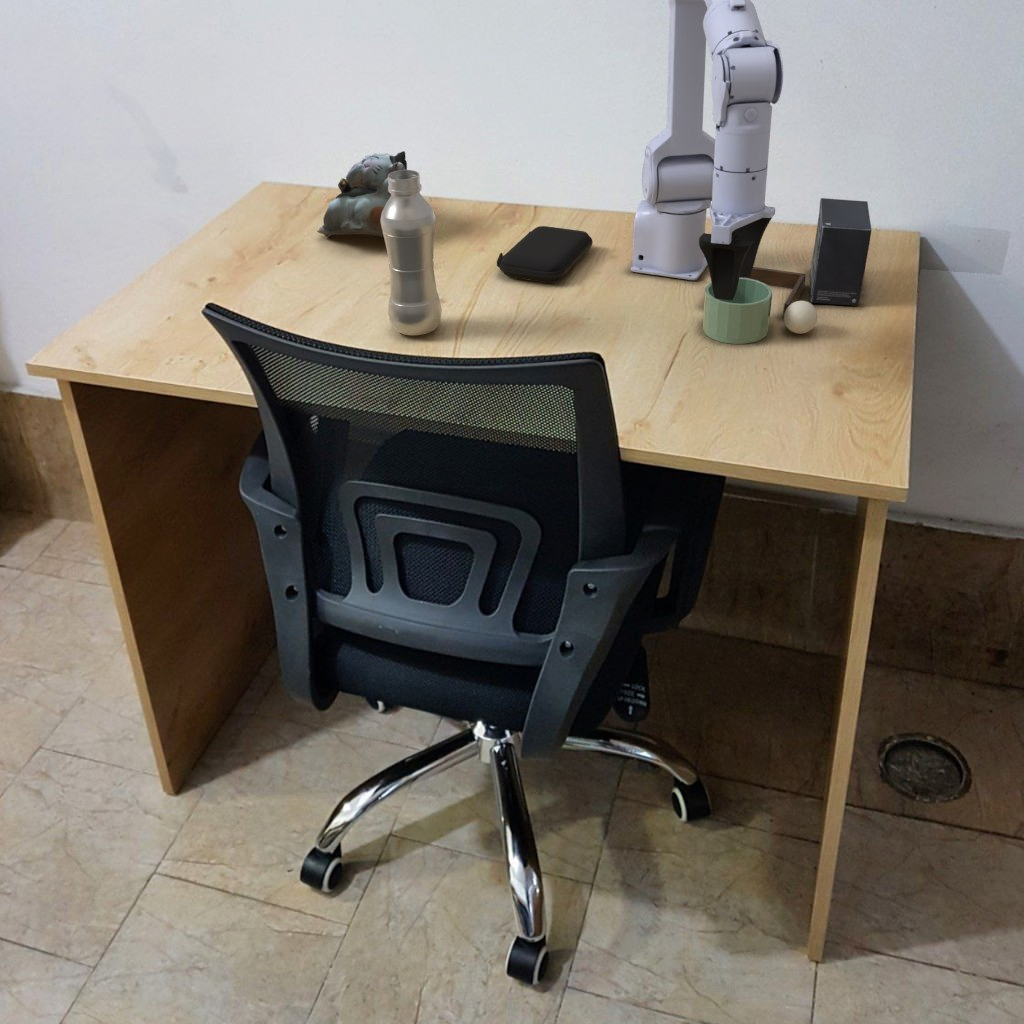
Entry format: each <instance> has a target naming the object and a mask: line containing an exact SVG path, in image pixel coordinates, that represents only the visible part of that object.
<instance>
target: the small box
mask: <svg viewBox="0 0 1024 1024" xmlns="http://www.w3.org/2000/svg"><path fill="white" fill-rule="evenodd" d="M816 225H817V226H816V231H815V239H814V245H813V251H812V257H811V263H810V269H809V301H810V302H809V303H811V304H826V305H839V306H840V305H841V306H856V307H858V306H859V305H860V304H859V303H860V298H861V293H862V290H863V284H864V278H865V271H866V266H867V262H868V261H867V260H868V255H869V248H870V244H871V236H872V229H873V228H872V224H871V217H870V210H869V202H868V201H866V200H854V199H852V200H851V199H840V198H839V199H838V198H827V197H821V198H820V200H819V209H818V219H817V224H816Z"/></svg>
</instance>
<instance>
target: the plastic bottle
mask: <svg viewBox="0 0 1024 1024" xmlns="http://www.w3.org/2000/svg"><path fill="white" fill-rule="evenodd" d="M388 184H389V186H388V191H389V193H391V197H390V198H389V200H388V201H387V203H386V205H385V207H384V209H383V211H382V215H381V220H380V221H381V227H382V231H383V235H384V237H383V238H384V244H385V248H386V253H387V261H388V263H389V264H388V266H389V267H388V268H389V297H388V298H389V299H388V309H387V311H388V312H387V314H388V318H389V321H390V325H391V326H392V327H393V329H394V330H395V331H396V332H397V333H399V334H401V335H406V336H421V335H426V334H429V333H431V332H434V331H435V330H436V329H437V328H438V326H439V325H440V323H441V319H442V311H443V309H442V304H441V300H440V296H439V293H438V289H437V288H438V287H437V281H436V274H435V268H434V267H435V264H434V263H435V261H434V259H435V257H434V244H435V231H436V214H435V212H434V209H433V207H432V206H431V204H430V203H429V201H427V199H425V197H424V196H423V195H422V194H421V193H420V192H421V191H422V190H423V187H422V184H421V175H420V172H419V171H416V170H413V169H407V170H399V171H394V172H392V173H390V174H389V175H388Z"/></svg>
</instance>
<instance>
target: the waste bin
mask: <svg viewBox="0 0 1024 1024" xmlns="http://www.w3.org/2000/svg"><path fill="white" fill-rule="evenodd" d="M772 301H773V290H772V288H771V287H770V285H769V284H765V283H763V282H760V281H758V280H754V279H749V278H740V277H739V282H738V287H737V291H736V294H735V296H734V299H733V300H723V299H715V297H714V294H713V289H712V283H711V282H709V283H708V284H707V285H706V287H705V288H704V299H703V313H702V331H703V333H704V334H705V336H707V337H708V338H710V339H712V340H714V341H716V342H719V343H720V342H721V343H725V344H729V345H730V344H731V345H744V344H745V345H746V344H751V343H756V342H758V341H760V340H763V339H764V338H765V337H767V335H768V332H769V327H770V320H771V310H772Z"/></svg>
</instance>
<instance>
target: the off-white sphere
mask: <svg viewBox="0 0 1024 1024" xmlns="http://www.w3.org/2000/svg"><path fill="white" fill-rule="evenodd" d="M818 316H819V315H818V311H817V309H816V307H815V306H814V305H813V303H811V302H809V301H807V300H797V301H796V302H794V303H792V304H791V305H789V306H788V308H787V309H786V311H785V314H784V318H783V322H784V324H785V327H786V328H787V329H788V330H789V331H790V332H792V333H793V334H798V335H800V334H801V335H802V334H806V333H808V332H811V330H812V329H814V327H815V326H816V325H817V322H818V318H819V317H818Z"/></svg>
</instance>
